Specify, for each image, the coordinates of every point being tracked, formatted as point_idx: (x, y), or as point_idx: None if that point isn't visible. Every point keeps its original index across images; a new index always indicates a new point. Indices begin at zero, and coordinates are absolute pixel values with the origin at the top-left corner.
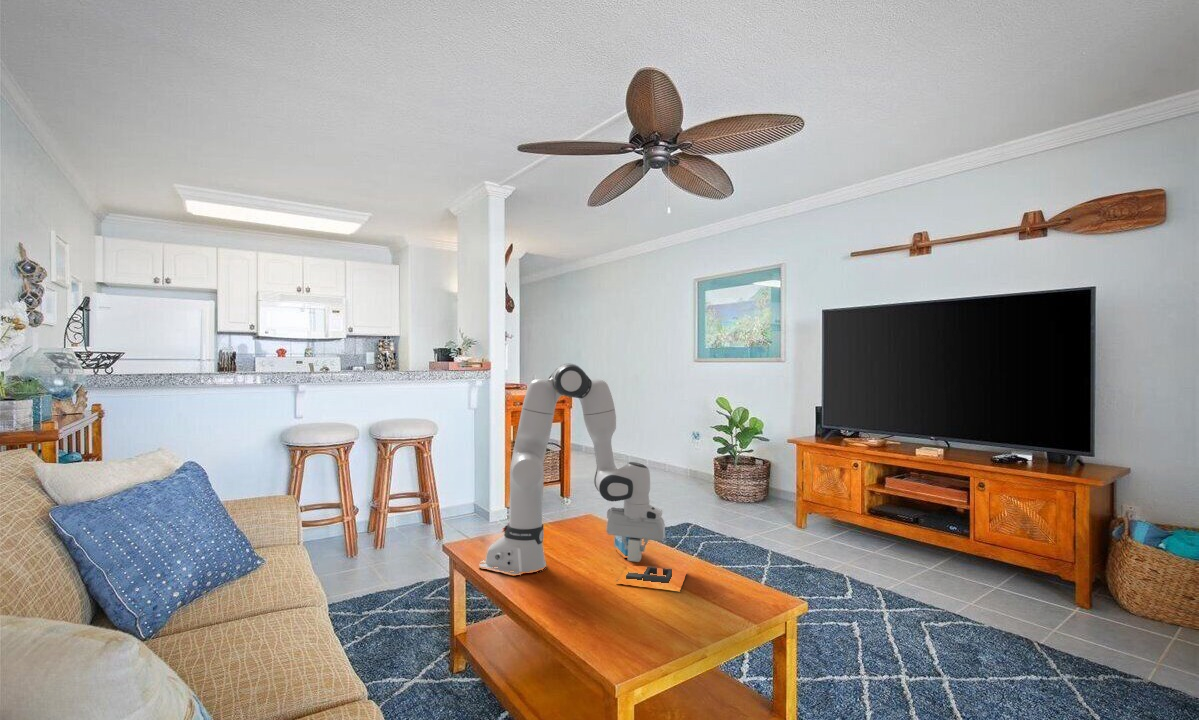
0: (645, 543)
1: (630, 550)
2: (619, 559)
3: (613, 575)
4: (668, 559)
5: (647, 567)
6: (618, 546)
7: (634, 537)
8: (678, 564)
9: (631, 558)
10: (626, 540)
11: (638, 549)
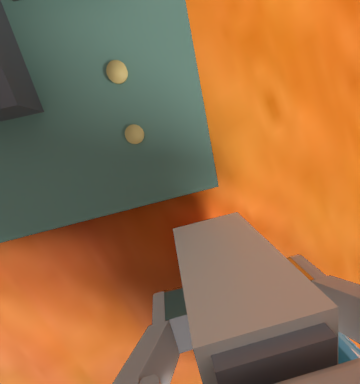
0: (136, 363)
1: (247, 247)
2: (287, 252)
3: (233, 21)
4: (101, 368)
5: (6, 79)
6: (340, 333)
7: (289, 382)
8: (27, 347)
9: (218, 223)
10: (339, 353)
11: (187, 273)
